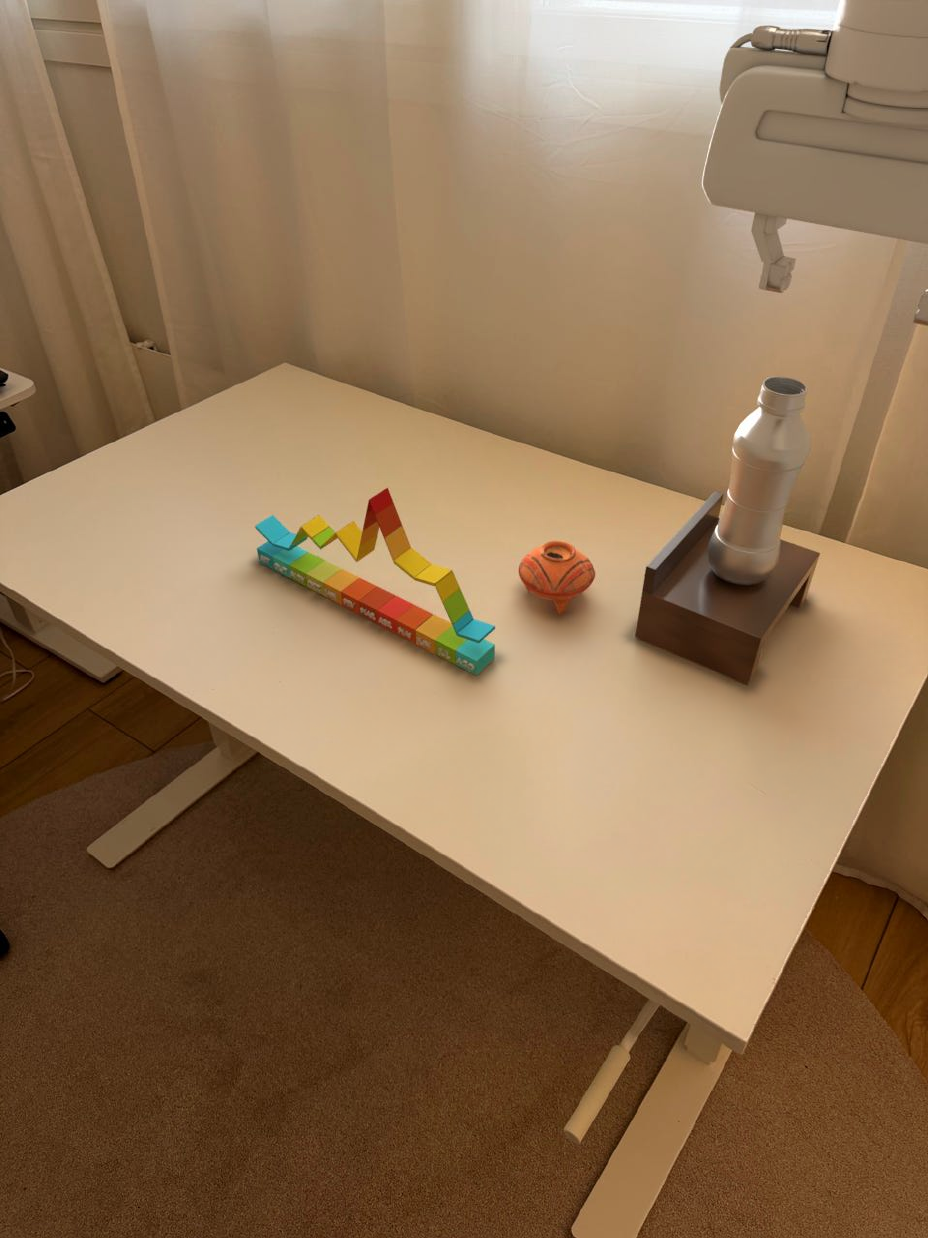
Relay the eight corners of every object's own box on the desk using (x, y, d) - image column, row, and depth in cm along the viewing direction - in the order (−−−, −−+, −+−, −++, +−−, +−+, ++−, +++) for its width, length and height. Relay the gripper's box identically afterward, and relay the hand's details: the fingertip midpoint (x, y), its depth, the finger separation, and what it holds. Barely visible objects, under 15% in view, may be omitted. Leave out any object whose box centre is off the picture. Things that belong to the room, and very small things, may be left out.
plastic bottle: (718, 546, 92) (759, 362, 79) (783, 569, 89) (836, 381, 76) (692, 578, 88) (731, 389, 75) (759, 602, 85) (811, 411, 72)
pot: (507, 613, 93) (511, 553, 89) (526, 584, 99) (530, 527, 96) (584, 626, 91) (590, 565, 87) (597, 595, 97) (603, 537, 94)
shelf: (806, 598, 95) (828, 528, 89) (747, 685, 85) (768, 613, 79) (700, 559, 100) (715, 490, 94) (634, 637, 90) (645, 566, 84)
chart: (257, 563, 100) (234, 444, 90) (278, 549, 102) (258, 431, 92) (475, 677, 86) (475, 551, 76) (494, 659, 88) (497, 534, 78)
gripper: (707, 29, 48) (669, 285, 57) (1141, 67, 39) (1016, 364, 48) (751, 15, 52) (710, 257, 61) (1156, 47, 43) (1037, 325, 52)
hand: (848, 305), depth 55 cm, fingers open, 8 cm apart
